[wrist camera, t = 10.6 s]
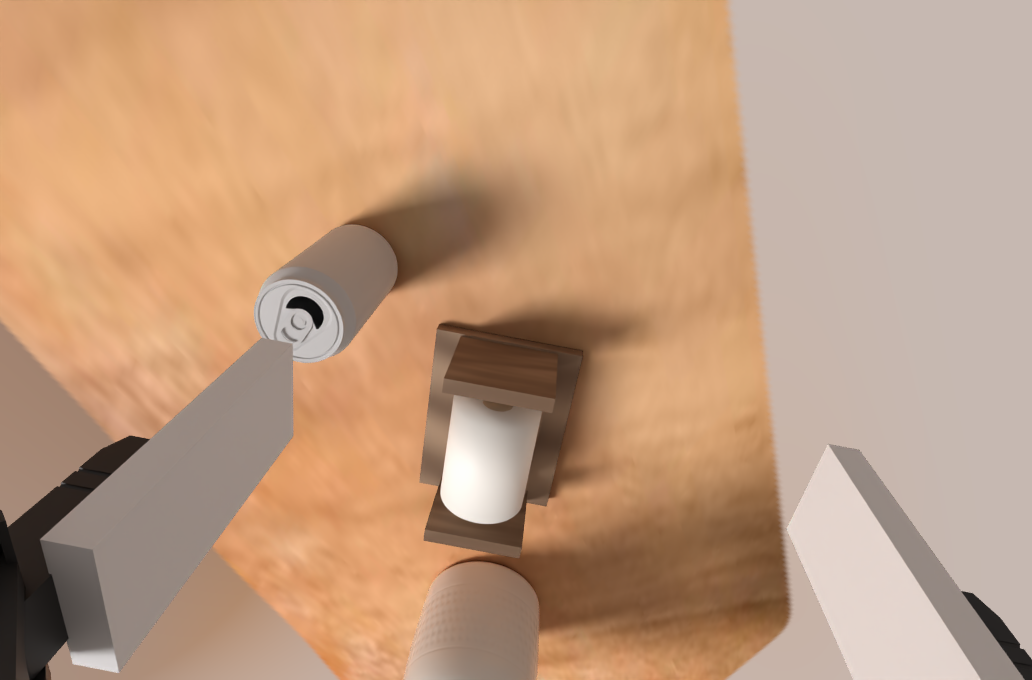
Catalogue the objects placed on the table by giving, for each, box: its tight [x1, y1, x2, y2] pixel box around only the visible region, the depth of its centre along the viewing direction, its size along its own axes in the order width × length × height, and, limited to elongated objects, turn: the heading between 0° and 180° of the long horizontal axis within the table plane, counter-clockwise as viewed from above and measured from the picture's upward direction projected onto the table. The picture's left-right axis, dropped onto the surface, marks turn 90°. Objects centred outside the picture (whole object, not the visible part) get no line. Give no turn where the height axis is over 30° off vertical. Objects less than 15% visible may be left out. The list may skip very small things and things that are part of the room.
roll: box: [440, 395, 542, 524], centre depth 48 cm, size 9×7×7 cm
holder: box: [420, 324, 583, 558], centre depth 49 cm, size 16×12×8 cm
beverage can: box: [254, 224, 398, 363], centre depth 42 cm, size 6×6×12 cm
